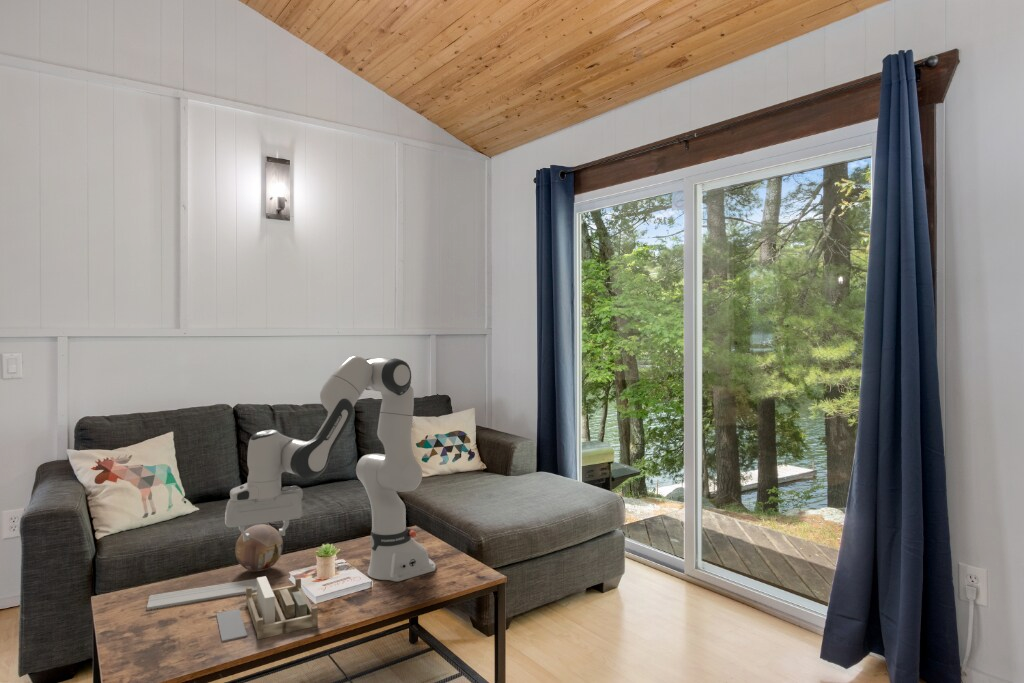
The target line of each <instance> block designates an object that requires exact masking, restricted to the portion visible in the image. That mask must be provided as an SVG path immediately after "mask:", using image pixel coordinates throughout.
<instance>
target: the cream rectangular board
mask: <svg viewBox="0 0 1024 683" xmlns="http://www.w3.org/2000/svg"><path fill="white" fill-rule="evenodd" d="M256 579H257V604H256V610H257V613H258V616H259V618H262V617H263V625H266V624H271V623H275V622H276V617H275V596H274V593H273V591H272V589H273V588H272V586H271V584H270V582H269V580H268V578H267V576H266V575H265V576H260V577H259V576H258V577H256Z"/></svg>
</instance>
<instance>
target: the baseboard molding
mask: <svg viewBox="0 0 1024 683" xmlns="http://www.w3.org/2000/svg"><path fill="white" fill-rule="evenodd" d="M258 577H261V576H260V573H259V575H258ZM246 587H252V593H256V592H257V578H251V579H246V580H245V579H244V580H239V581H232V582H227V583H220V584H219V583H218V584H213V585H209V586H207V585H206V586H202V587H194V588H189V589H183V590H182V589H181V590H175V591H169V592H162V593H158V594H157V593H156V594H151V595H149V597H148V600H147V601H148V602H147V606H146V611H151V609H152V610H158V609H163V607H164V608H169V606H170V607H175V605H176V606H180V605H181V604H182V605H188V604H192V603H194V604H195V603H200V602H205V601H211V600H212V601H213V600H217V599H218V600H219V599H223V598H229V597H235V596H236V597H237V596H240V595H242V596H243V595H246ZM157 608H158V609H157Z"/></svg>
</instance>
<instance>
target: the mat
mask: <svg viewBox="0 0 1024 683" xmlns="http://www.w3.org/2000/svg"><path fill="white" fill-rule="evenodd" d="M242 617H243V616H242V615H241V610H240V608H237V609H232V610H231V609H230V610H227V611H226V610H225V611H221V612H216V620H217V624H218V629H219V635H220V639H221V642H222V643H224V642H228V641H234V640H237V639H238V640H239V639H242V638H246V637H248V634H247V631H246V627H245V624H244V621H243V618H242Z"/></svg>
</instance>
